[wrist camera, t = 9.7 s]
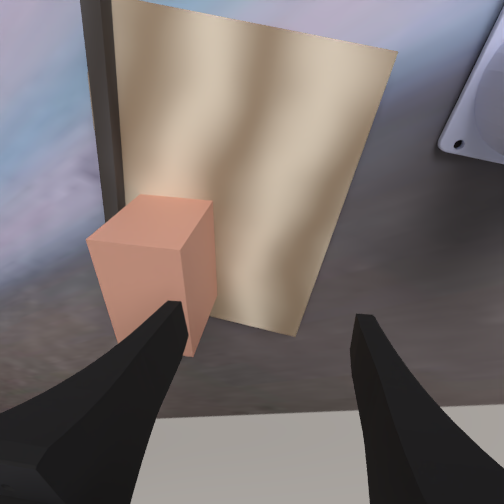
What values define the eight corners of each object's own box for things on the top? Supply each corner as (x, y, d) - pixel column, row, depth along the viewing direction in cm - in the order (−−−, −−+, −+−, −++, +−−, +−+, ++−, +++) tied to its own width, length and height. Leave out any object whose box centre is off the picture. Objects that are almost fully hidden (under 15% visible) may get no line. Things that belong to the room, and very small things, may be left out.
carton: (212, 200, 20) (180, 250, 15) (217, 294, 25) (193, 357, 20) (137, 193, 21) (82, 239, 16) (154, 286, 25) (115, 345, 20)
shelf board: (391, 51, 16) (403, 52, 14) (296, 323, 27) (294, 346, 25) (102, -6, 17) (72, -14, 14) (126, 282, 28) (111, 301, 26)
